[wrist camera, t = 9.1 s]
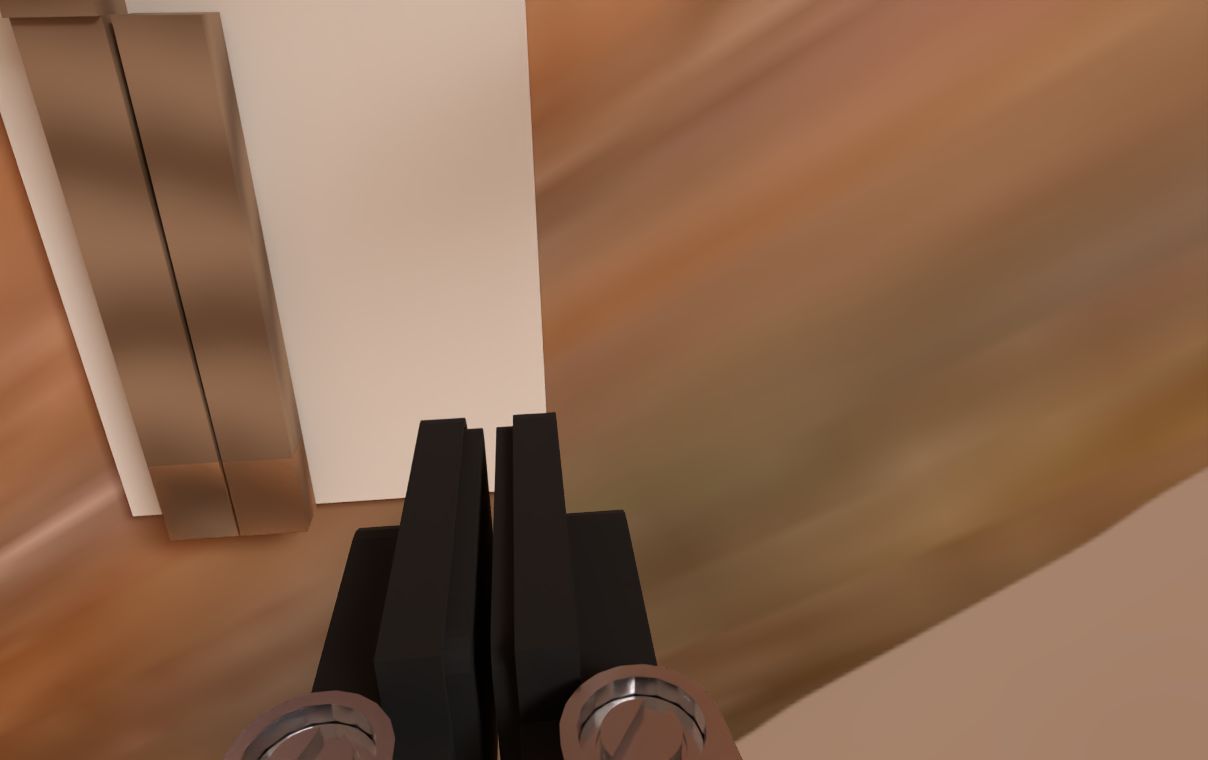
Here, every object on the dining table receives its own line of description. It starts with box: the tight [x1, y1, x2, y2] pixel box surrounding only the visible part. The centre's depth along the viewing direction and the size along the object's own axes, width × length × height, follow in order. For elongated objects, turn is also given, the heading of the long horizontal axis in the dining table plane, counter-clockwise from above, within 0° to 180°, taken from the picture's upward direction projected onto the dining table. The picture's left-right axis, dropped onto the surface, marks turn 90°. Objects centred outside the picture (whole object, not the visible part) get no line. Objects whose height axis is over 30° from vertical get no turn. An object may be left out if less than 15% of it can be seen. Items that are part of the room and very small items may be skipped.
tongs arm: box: [111, 12, 316, 536], centre depth 34 cm, size 22×3×2 cm, turn 0°
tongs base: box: [0, 0, 240, 541], centre depth 33 cm, size 26×3×3 cm, turn 1°
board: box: [0, 0, 546, 516], centre depth 35 cm, size 27×20×1 cm
